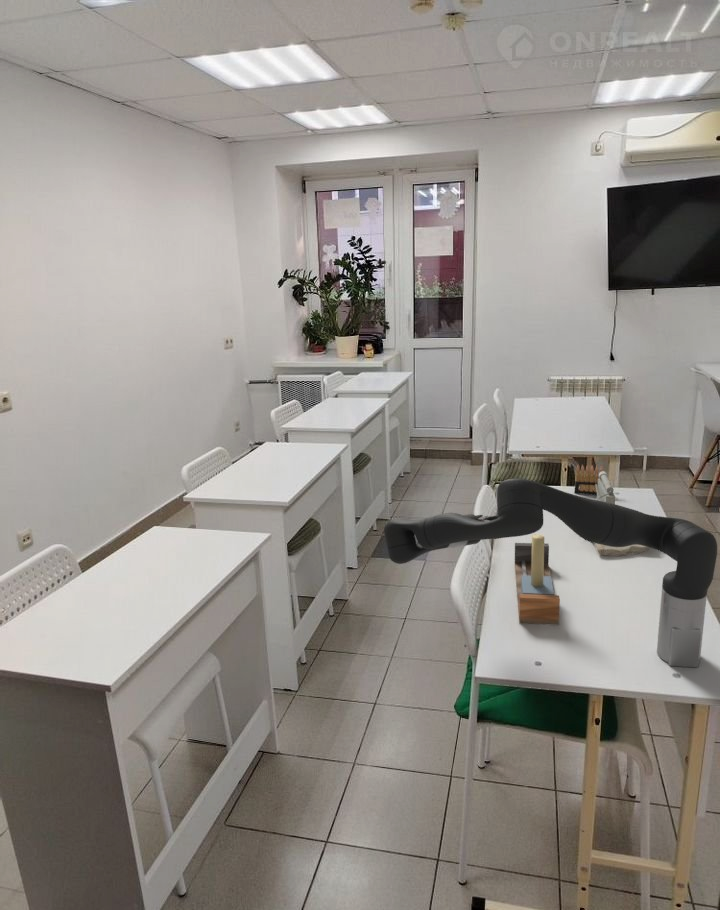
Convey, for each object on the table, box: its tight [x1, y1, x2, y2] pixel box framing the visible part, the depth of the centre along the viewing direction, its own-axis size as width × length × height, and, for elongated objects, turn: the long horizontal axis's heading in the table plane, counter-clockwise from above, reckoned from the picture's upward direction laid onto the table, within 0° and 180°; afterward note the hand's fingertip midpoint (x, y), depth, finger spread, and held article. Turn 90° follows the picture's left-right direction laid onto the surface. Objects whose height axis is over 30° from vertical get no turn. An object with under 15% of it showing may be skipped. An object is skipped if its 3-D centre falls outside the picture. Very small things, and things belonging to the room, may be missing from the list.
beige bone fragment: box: [594, 543, 651, 557], centre depth 213 cm, size 24×8×20 cm
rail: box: [514, 542, 561, 626], centre depth 183 cm, size 34×10×8 cm, turn 169°
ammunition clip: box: [573, 464, 604, 496], centre depth 255 cm, size 11×2×12 cm, turn 69°
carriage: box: [521, 534, 555, 595], centre depth 173 cm, size 10×8×18 cm
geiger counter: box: [595, 470, 616, 504], centre depth 235 cm, size 14×6×25 cm
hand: (511, 522), depth 166 cm, fingers open, 8 cm apart
